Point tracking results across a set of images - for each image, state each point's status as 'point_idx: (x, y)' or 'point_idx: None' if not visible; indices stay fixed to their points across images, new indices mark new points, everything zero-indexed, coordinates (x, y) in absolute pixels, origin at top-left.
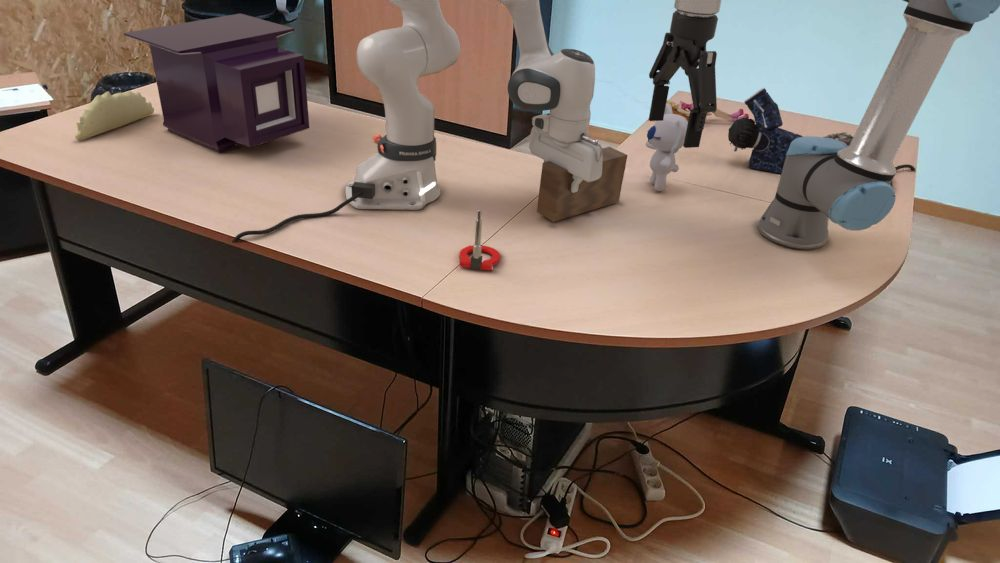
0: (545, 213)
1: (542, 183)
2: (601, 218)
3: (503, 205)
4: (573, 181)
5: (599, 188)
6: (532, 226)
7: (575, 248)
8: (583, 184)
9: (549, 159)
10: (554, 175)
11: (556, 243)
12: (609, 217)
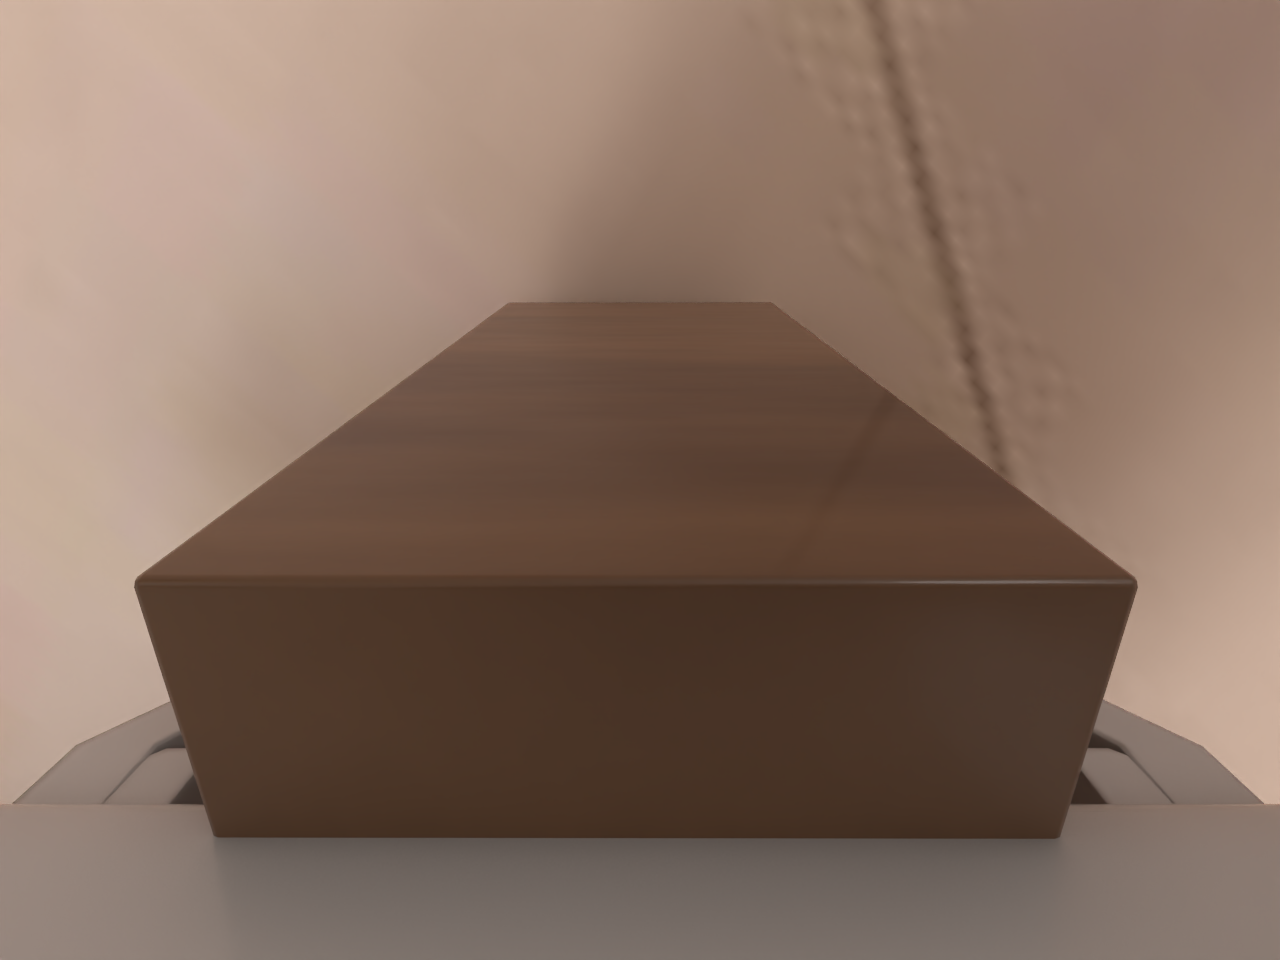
0: (641, 308)
1: (819, 384)
2: None
3: (1148, 171)
4: None
5: None
6: (623, 107)
7: (52, 162)
8: None
9: (1099, 884)
10: (481, 479)
11: (209, 62)
12: None
